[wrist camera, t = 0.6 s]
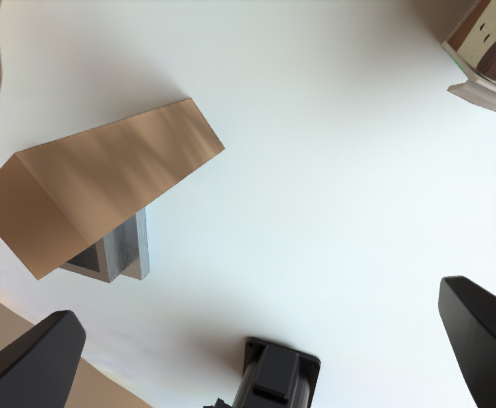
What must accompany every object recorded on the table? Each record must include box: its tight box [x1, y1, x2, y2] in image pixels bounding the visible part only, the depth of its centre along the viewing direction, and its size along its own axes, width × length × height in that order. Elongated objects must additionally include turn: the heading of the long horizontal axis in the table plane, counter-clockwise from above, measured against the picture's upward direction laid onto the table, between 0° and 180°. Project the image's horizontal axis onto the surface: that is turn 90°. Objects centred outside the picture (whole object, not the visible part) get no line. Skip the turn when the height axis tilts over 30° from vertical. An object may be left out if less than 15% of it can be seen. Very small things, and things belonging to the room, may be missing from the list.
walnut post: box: [0, 98, 225, 280], centre depth 18 cm, size 4×4×13 cm
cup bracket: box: [59, 207, 149, 283], centre depth 28 cm, size 10×10×4 cm
